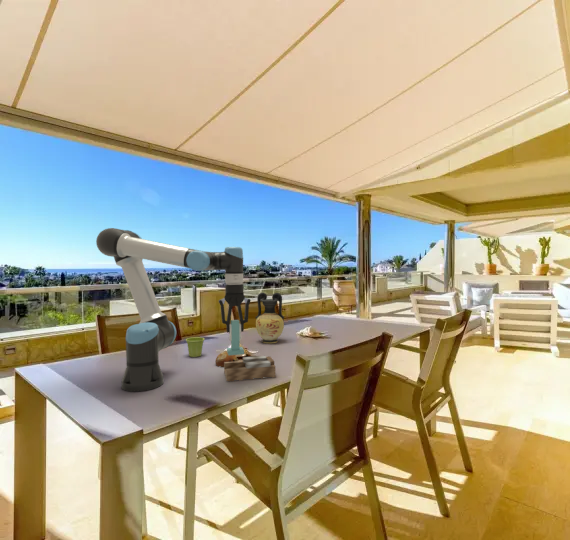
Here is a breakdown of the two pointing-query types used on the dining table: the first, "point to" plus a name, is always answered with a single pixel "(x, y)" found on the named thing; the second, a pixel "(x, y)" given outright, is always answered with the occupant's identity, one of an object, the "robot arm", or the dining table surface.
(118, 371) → the dining table surface
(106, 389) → the dining table surface
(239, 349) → the t post
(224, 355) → the bread roll
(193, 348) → the plant pot
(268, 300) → the amphora
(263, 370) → the slot board
